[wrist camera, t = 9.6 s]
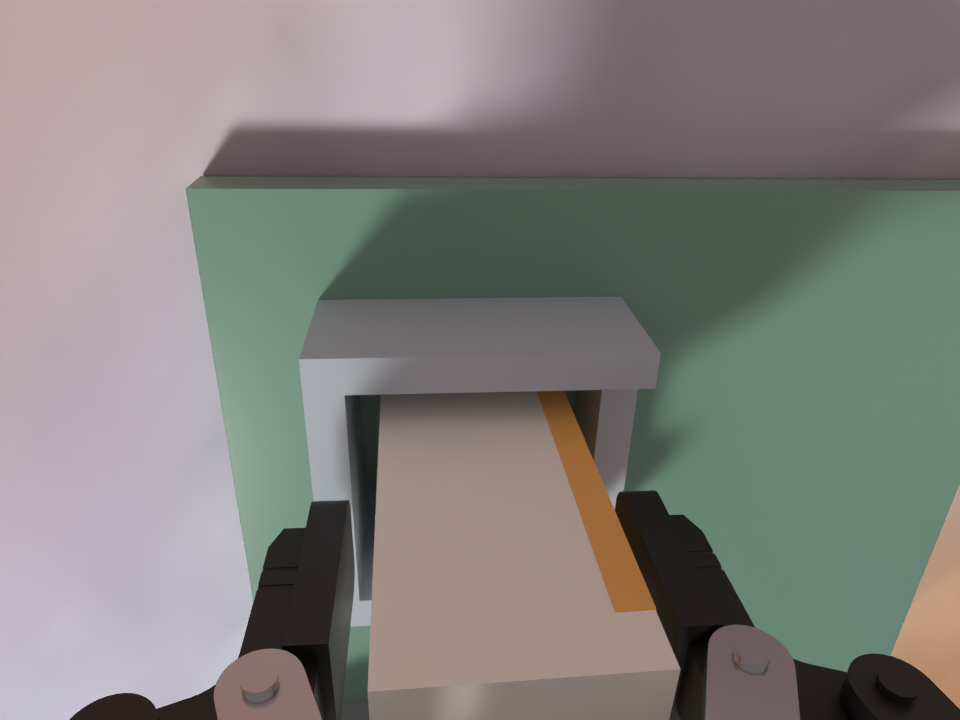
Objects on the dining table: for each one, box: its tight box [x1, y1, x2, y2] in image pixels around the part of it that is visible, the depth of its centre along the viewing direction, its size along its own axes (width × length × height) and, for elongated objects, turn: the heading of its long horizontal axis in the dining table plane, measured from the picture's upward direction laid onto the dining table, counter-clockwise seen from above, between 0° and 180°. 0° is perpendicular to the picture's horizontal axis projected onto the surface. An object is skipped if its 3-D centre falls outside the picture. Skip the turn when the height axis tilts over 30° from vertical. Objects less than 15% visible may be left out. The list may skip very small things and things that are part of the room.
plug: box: [367, 391, 681, 720], centre depth 14 cm, size 4×4×9 cm
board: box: [186, 176, 960, 703], centre depth 21 cm, size 20×24×2 cm
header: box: [299, 297, 661, 627], centre depth 16 cm, size 7×7×3 cm
